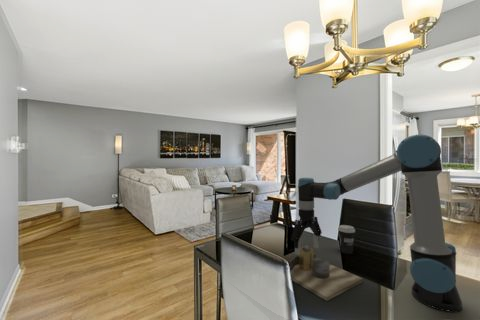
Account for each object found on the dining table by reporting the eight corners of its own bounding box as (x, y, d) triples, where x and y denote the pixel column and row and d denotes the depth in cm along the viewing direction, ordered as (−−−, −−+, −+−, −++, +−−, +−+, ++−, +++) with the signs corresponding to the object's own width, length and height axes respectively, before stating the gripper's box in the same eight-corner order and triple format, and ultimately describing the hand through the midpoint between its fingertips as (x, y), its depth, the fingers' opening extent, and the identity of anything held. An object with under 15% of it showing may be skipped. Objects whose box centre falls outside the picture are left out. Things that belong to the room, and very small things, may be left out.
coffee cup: (339, 254, 135) (339, 228, 135) (336, 248, 144) (336, 224, 144) (357, 255, 133) (357, 229, 133) (353, 249, 142) (353, 225, 142)
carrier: (362, 281, 105) (362, 255, 105) (326, 301, 90) (326, 270, 90) (313, 259, 128) (313, 237, 128) (278, 272, 113) (278, 247, 113)
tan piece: (316, 268, 114) (316, 250, 114) (307, 271, 111) (307, 253, 111) (305, 262, 120) (305, 245, 120) (296, 266, 116) (296, 248, 116)
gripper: (316, 204, 125) (317, 243, 125) (282, 210, 112) (283, 254, 111) (328, 206, 119) (329, 248, 119) (294, 213, 105) (295, 259, 105)
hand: (307, 251), depth 115 cm, fingers open, 13 cm apart
